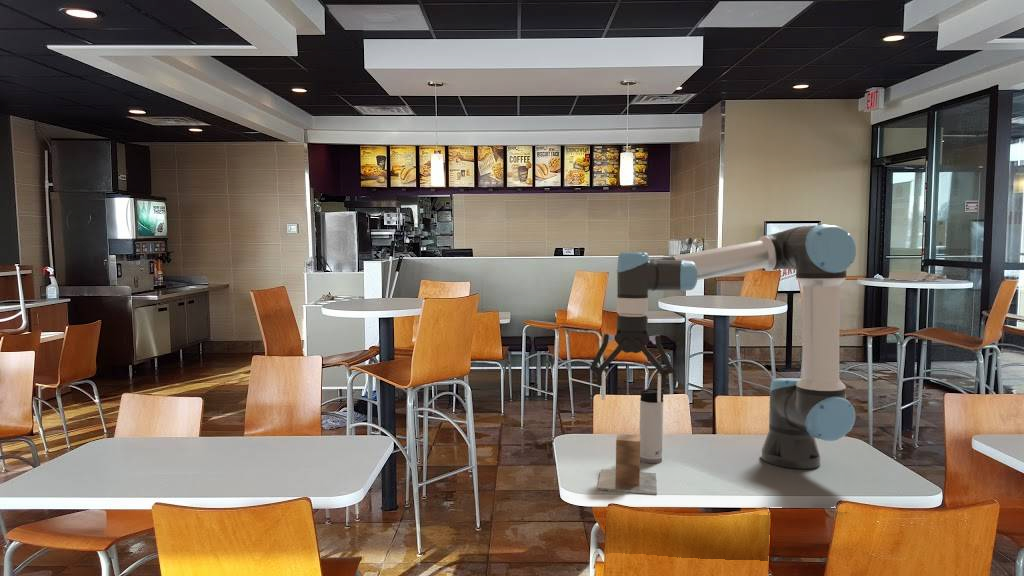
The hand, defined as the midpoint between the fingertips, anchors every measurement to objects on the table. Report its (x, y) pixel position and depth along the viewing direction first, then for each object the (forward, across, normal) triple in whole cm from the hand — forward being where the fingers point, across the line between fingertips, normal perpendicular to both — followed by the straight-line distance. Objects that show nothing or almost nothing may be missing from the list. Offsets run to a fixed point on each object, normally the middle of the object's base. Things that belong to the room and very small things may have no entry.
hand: (631, 400), depth 166 cm
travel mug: (+21, -6, -20) cm, 29 cm away
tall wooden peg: (+20, 0, 0) cm, 20 cm away
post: (+21, +1, 0) cm, 21 cm away
